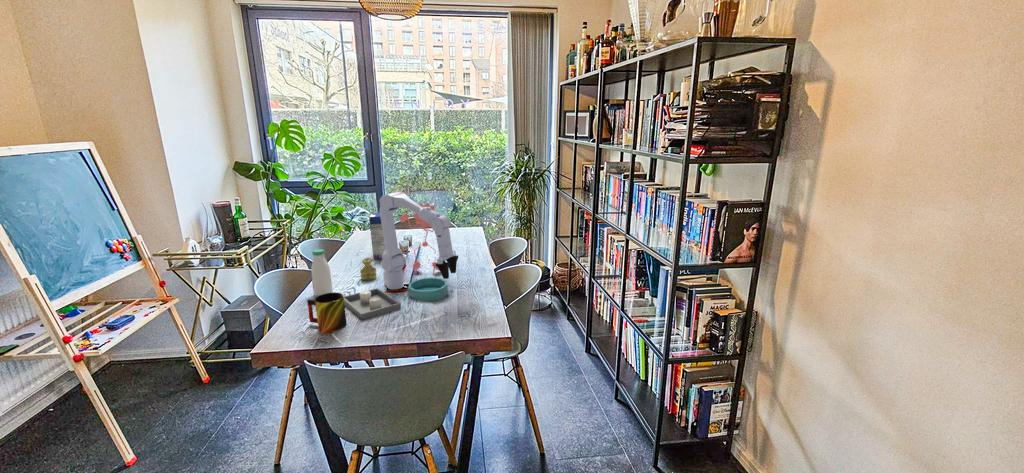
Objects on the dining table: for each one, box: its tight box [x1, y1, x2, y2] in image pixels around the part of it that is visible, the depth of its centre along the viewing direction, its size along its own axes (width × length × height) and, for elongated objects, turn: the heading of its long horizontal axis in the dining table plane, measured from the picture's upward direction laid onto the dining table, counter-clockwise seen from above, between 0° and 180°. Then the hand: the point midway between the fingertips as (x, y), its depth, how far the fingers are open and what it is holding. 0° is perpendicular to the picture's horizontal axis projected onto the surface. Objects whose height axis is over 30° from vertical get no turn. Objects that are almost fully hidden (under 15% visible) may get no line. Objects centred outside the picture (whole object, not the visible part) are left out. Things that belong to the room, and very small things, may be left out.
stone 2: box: [369, 298, 381, 311], centre depth 175 cm, size 4×4×4 cm
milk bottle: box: [310, 248, 334, 297], centre depth 191 cm, size 8×8×20 cm
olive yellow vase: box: [359, 257, 377, 282], centre depth 211 cm, size 7×7×10 cm
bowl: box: [407, 277, 449, 302], centre depth 192 cm, size 17×17×4 cm
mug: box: [306, 292, 348, 335], centre depth 159 cm, size 10×14×12 cm
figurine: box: [399, 202, 451, 276], centre depth 219 cm, size 15×26×35 cm, turn 82°
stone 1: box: [359, 290, 371, 304], centre depth 182 cm, size 4×4×4 cm
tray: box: [343, 287, 402, 321], centre depth 179 cm, size 22×16×3 cm
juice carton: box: [368, 211, 386, 260], centre depth 245 cm, size 12×8×24 cm, turn 10°
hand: (449, 275), depth 185 cm, fingers open, 7 cm apart
